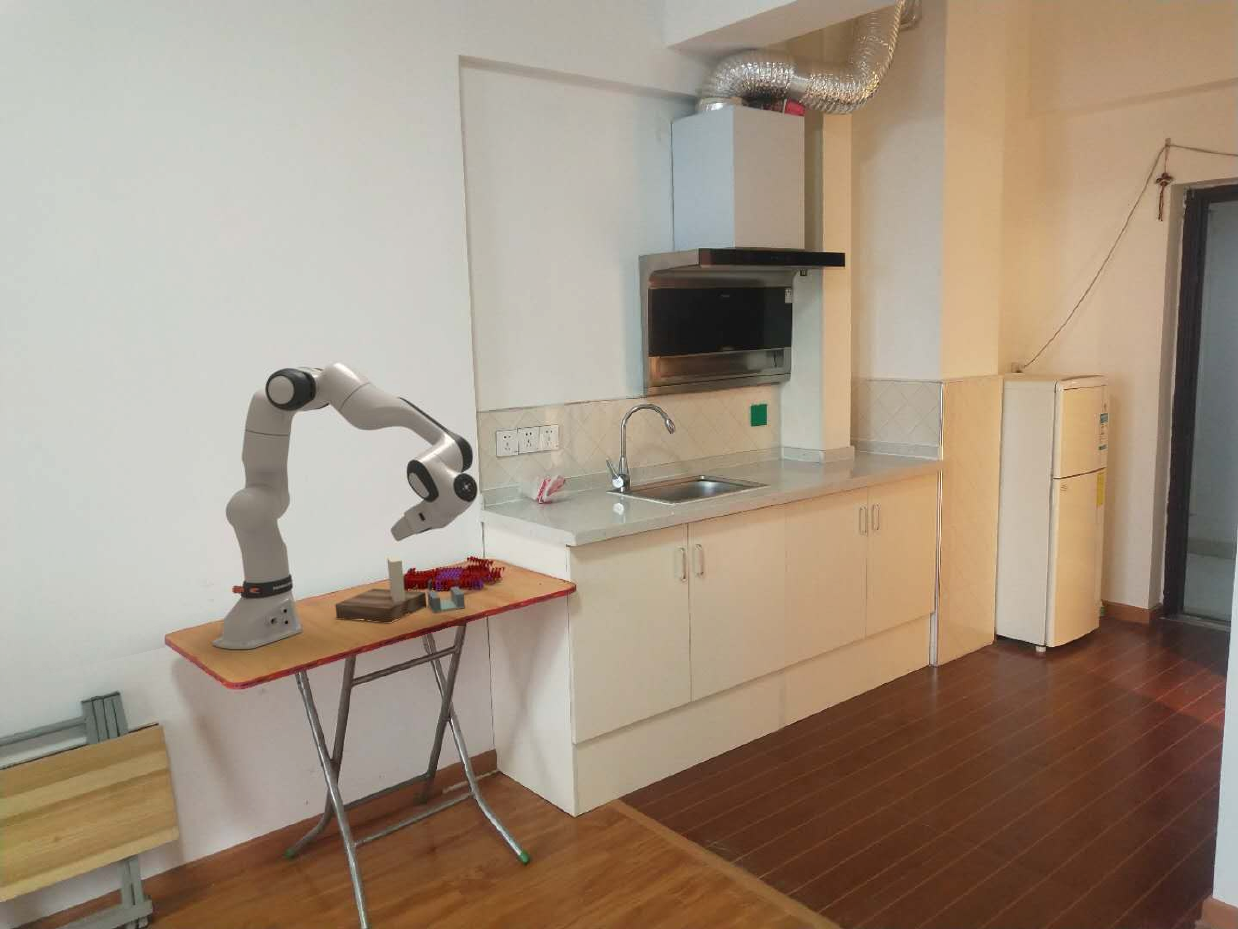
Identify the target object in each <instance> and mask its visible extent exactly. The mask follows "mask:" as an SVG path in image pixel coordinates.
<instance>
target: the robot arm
mask: <svg viewBox="0 0 1238 929" xmlns="http://www.w3.org/2000/svg"><path fill="white" fill-rule="evenodd" d="M250 400H251V401H250V403H249V406H248V410H247V415H246V420H245V424H244V432H243V434H244V435H243V440H242V441H243V443H242V452H241V461H242V463H243V468H244V474H245V475H244V476H245V485H244V488H242V489H240V490H238V491H237V492H235V493H234V494H233V495H232V497H231V498H230V499H229V501H228V503H227V504H226V508H225V516H226V517H225V518H226V520H227V522H228V524H230V526H231V527H232V528H233V531H234V533H235V537H236V539H237V543H238V545H239V549H240V554H241V559H242V561H241V562H242V566H243V577H244V580H243V582H242V585H233V587H232V588H231V592H232V593H233V594H239V595H240V596H241V597H240V598H239V599H238V601H237V602H236V603H235V604H234V606H233V607H232V609H230V611H229V612H228V613H227V615H226V616H225V617H224V618H223V621H222V636H220V637H217V638H216V639H213V643H212V644H213V646H215V647H217V648H222V649H227V650H229V649H230V650H247V649H248V650H250V649H251V650H252V649H255V648H259V647H262V646H264V645H268V644H270V643H273V642H277V641H279V640H282V639H285V638H288V637H292V636H294V635H297V634H301V633H303V628H302V626H303V625H302V622H301V620H300V617H299V614H298V611H297V607H296V602H295V598H294V595H293V590H292V589H293V587H294V586H293V585H294V584H293V578H292V574H291V573H290V566H289V556H288V548H287V544H286V543H285V541H284V540H283V537H282V535H281V532H280V529H279V524H278V519H280V518H281V517H283V516H284V514H285V513H286V512H287V510H288V508H289V506H290V503H291V495H290V492H289V477H288V476H289V475H288V459H289V451H290V450H289V449H290V441H291V435H292V432H291V431H292V423H293V418H294V417H295V415H296V414H297V413H298V412H307V411H315V410H316V411H317V410H321V409H324V408H326V407H328V406H329V405H330V406H331V407H333V408H334V410H336V412H338V414H340V416H342V418H343V419H345V421H346V422H347V423H348V424H350V425H351V426H353V427H354V428H356V429H358V430H362V431H377V430H382V429H385V428H386V429H387V428H393V427H402V428H405V429H406V428H407V429H409V430H411V431H413V432H414V433H415V434H417V435H418V436H419V437H420V438H422V439H423V440H424V441H425V442H427V443H428V444H430V445H431V446H430V447H429V448H427V449H426V450H425V451H423V452H420V454H418V455H417V456H415V457H414V458H412V459H411V460H410V461H408V463H407V466H406V478H407V483H408V484H409V487H411V488H410V489H412V490H413V492H414V493H415V494H416V495H417V496H418V497H419V498H421V499H422V500H421V501H420V502H419V503H417V504H415V505H414V506H412V507H410V508H409V509H407V510H406V511H404V512H403V516H402V517H401V518H400V519H398V520H397V521H396V523H394V525H392V527H391V528H390V532H391V535H392V537H393V538H394V540H395V541H396V542H400V541H402V540H404V539H406V538H409V537H411V536H413V535H419V534H423V533H425V532H427V531H433V530H437V529H444V528H445V527H447V526H449V525H450V524H451V523H453V521H455V520H456V519H457V518H458V516H460V515H462V514H463V513H465V512H466V511H467V510H468V509H469V508H470V507H471V506H472V505H473V504H474V502H475V500H476V498H477V497H478V496H477V495H478V484H477V482H476V480H475V478H474V477H473V476H472V475H470V474H469V473H465V472H466V471H468V470H470V468H471V467H472V465H473V460H474V459H473V458H474V452H473V448H472V445H471V444H470V443H469V441H467V439H465V437H462V436H461V435H459V434H457V433H455V432H454V431H451V430H450V429H448V428H446V427H445V426H444V425H442V424H441V423H440V422H438V420H436V419H434V418H433V417H432V416H430V415H429V414H428V413H426V412H424V411H423V410H422V409H421V408H419V406H416V405H415V404H414V403H412V402H410V401H409V400H407V399H405V398H404V397H401V396H395V395H392V394H390V393H387V392H385V391H383V390H381V389H380V388H379V387H377V386H376V385H374V383H372V381H371V380H369V379H368V378H367V377H366V376H365V375H364V374H362V373H361V372H360V371H358V370H357V369H356V368H355V367H353V366H351V365H350V364H349V363H346V362H343V361H333V362H332V363H329V364H327V366H325V367H324V368H323V369H322V368H319V367H307V366H299V367H293V368H291V367H287V368H281V369H279V370H277V371H276V370H275V372H273V373H272V374H270V375H269V377H268V378H267V380H266V383H265V388H262V389H259V390H257V391H256V392H254V394H253V395H252V397H251V399H250Z"/></svg>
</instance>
